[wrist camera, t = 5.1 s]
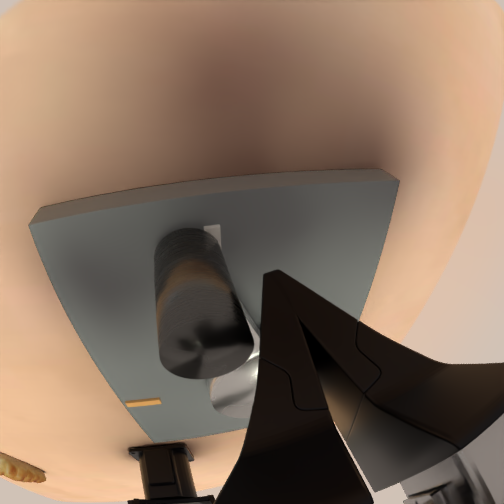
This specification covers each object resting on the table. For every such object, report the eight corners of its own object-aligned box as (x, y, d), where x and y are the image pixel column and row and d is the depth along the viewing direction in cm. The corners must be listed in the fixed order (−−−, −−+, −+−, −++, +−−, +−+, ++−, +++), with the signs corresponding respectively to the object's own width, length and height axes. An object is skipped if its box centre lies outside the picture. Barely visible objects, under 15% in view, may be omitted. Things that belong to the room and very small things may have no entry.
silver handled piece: (336, 364, 20) (365, 416, 16) (238, 409, 20) (256, 464, 16) (269, 179, 10) (334, 252, 7) (88, 277, 11) (70, 377, 7)
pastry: (51, 469, 28) (51, 490, 25) (38, 473, 29) (39, 491, 26) (-2, 449, 22) (-3, 471, 19) (-9, 454, 23) (-10, 473, 20)
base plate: (316, 393, 26) (322, 407, 25) (152, 428, 23) (154, 444, 21) (381, 169, 14) (402, 182, 12) (40, 207, 10) (26, 227, 9)
